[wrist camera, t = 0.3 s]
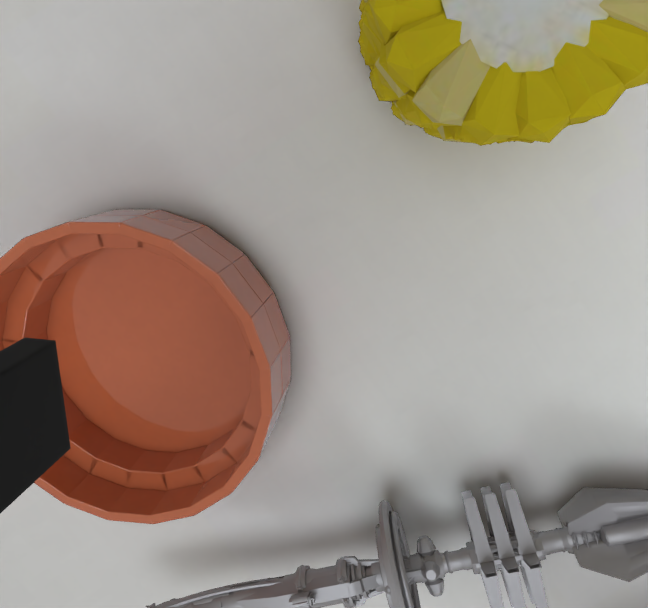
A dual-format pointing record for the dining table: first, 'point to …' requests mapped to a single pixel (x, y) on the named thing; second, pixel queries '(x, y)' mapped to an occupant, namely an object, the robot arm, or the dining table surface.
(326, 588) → the spaceship
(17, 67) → the dining table surface
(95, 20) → the dining table surface
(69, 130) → the dining table surface
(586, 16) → the food
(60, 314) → the terracotta bowl
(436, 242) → the dining table surface
